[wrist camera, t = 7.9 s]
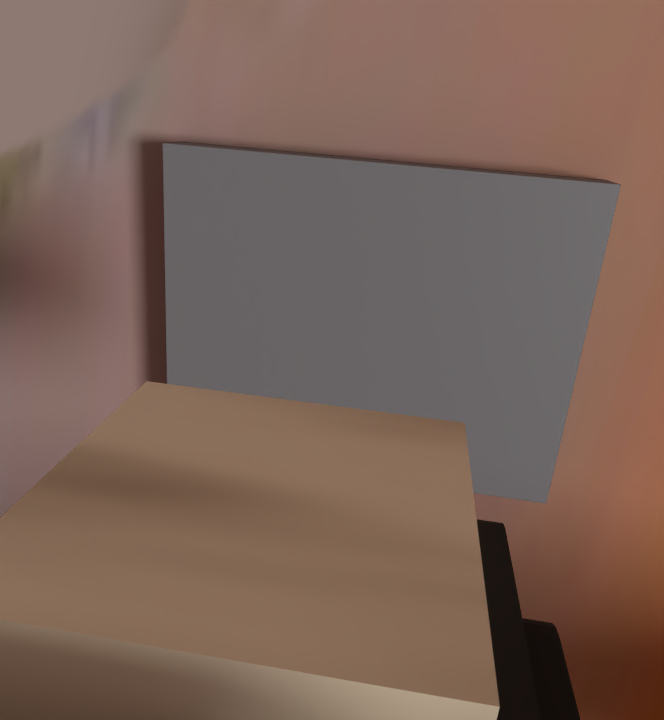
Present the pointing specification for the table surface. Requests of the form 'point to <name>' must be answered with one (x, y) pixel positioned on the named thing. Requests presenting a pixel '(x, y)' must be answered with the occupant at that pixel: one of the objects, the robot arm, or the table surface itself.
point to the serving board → (387, 291)
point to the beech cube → (248, 568)
